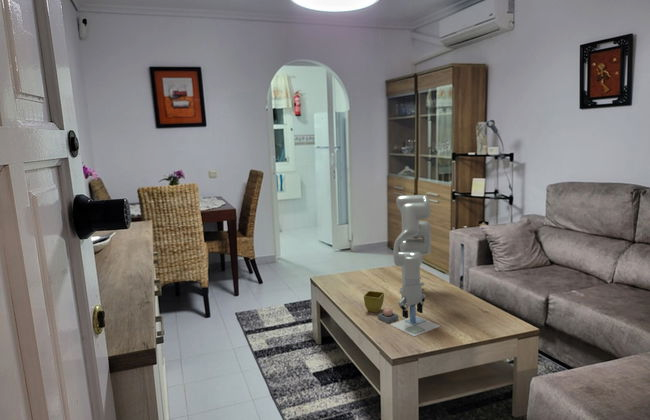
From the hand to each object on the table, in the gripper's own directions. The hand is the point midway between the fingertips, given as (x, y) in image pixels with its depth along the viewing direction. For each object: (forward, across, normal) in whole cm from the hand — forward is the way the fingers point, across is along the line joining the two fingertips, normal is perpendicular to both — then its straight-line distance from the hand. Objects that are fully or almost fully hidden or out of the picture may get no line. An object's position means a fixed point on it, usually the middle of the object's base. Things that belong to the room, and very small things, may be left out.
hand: (412, 314), depth 212 cm
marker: (+4, 0, 0) cm, 4 cm away
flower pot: (+4, +4, -24) cm, 25 cm away
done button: (+2, +6, -11) cm, 13 cm away
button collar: (+4, +6, -11) cm, 13 cm away
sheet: (+4, +2, +3) cm, 5 cm away
